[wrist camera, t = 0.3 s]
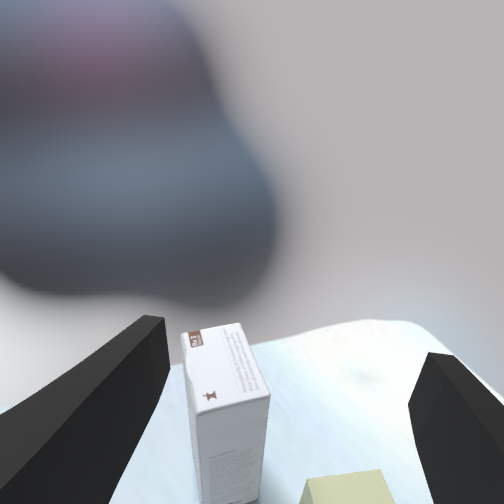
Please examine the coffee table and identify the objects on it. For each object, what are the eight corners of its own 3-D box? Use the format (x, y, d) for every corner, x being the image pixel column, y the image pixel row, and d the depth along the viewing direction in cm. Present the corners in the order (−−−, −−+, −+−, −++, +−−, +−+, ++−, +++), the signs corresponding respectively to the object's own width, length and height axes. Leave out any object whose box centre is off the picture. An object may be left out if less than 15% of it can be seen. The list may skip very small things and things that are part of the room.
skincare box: (260, 499, 24) (280, 397, 17) (199, 522, 22) (195, 419, 16) (237, 420, 28) (245, 318, 22) (185, 435, 27) (179, 330, 21)
